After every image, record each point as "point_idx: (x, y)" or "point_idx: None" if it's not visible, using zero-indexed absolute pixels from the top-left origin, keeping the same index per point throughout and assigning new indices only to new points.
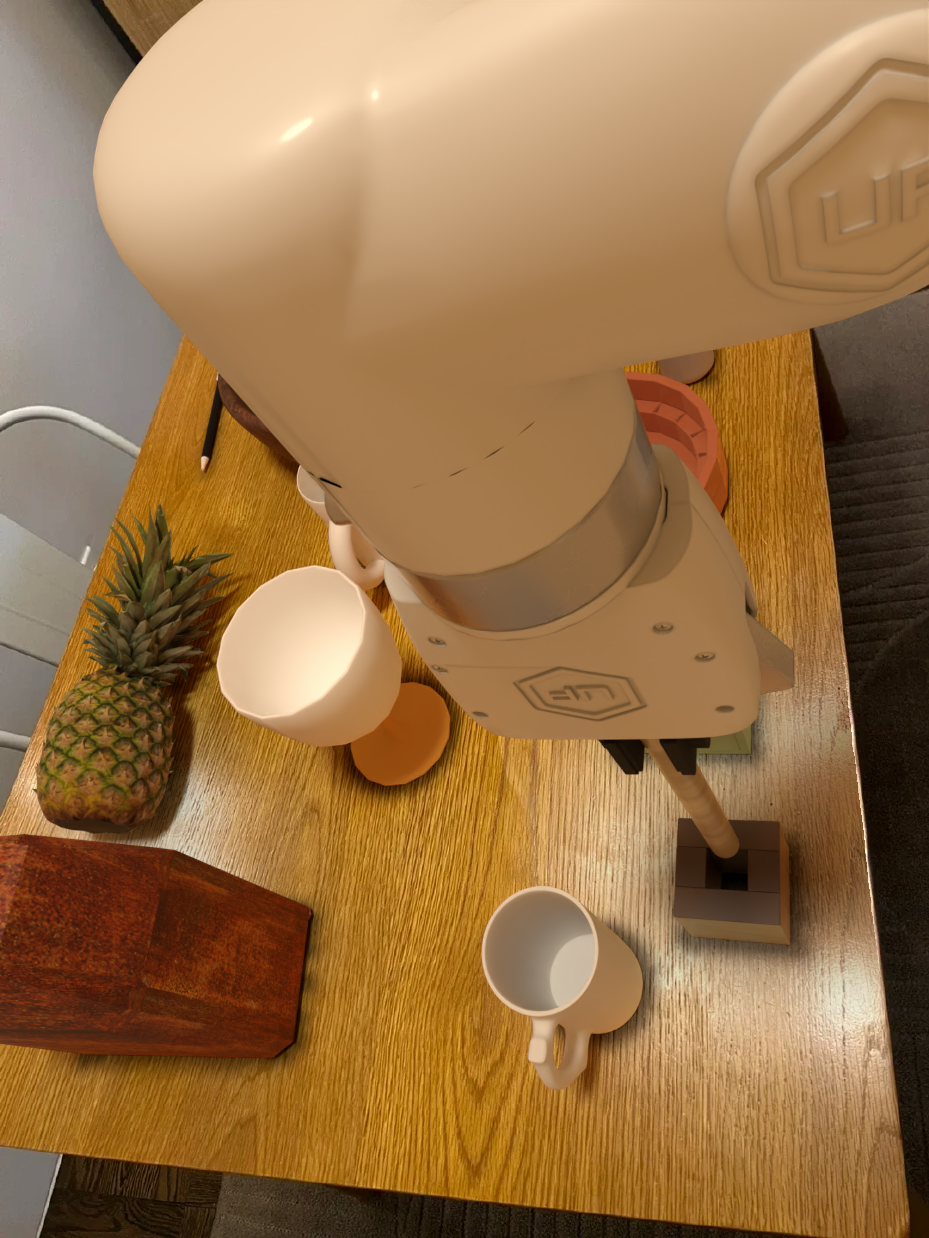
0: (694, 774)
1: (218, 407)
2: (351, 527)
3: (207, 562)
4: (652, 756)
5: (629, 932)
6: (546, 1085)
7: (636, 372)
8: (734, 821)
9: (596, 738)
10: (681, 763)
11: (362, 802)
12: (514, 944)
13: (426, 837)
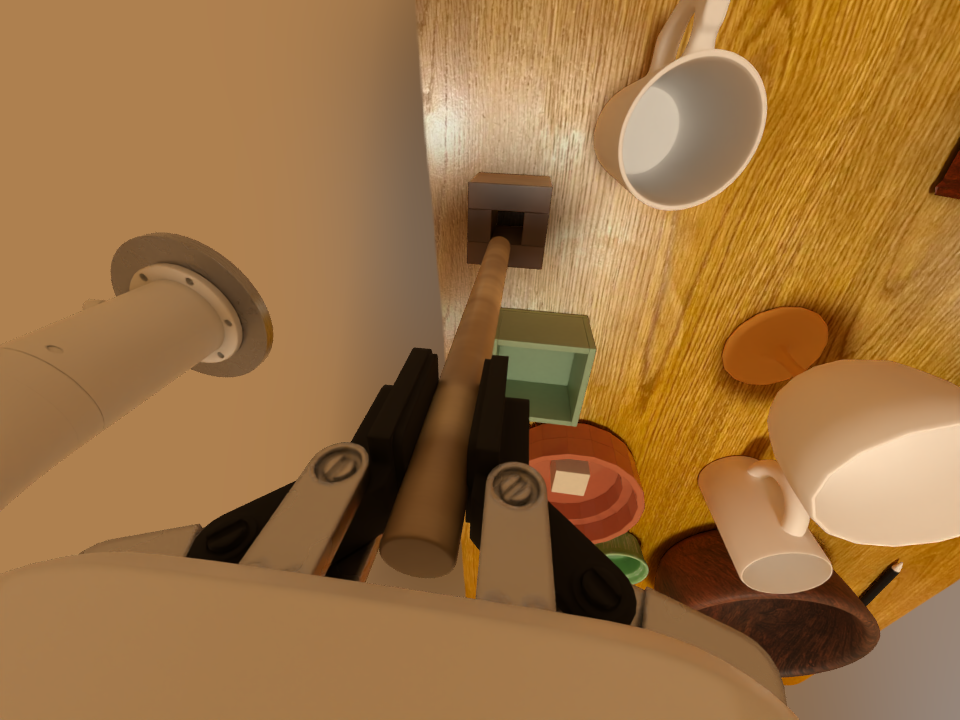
0: (413, 349)
1: (867, 595)
2: (783, 521)
3: None
4: (476, 371)
5: (599, 178)
6: None
7: None
8: None
9: (402, 612)
10: (408, 375)
11: (830, 294)
12: (712, 151)
13: (771, 260)
